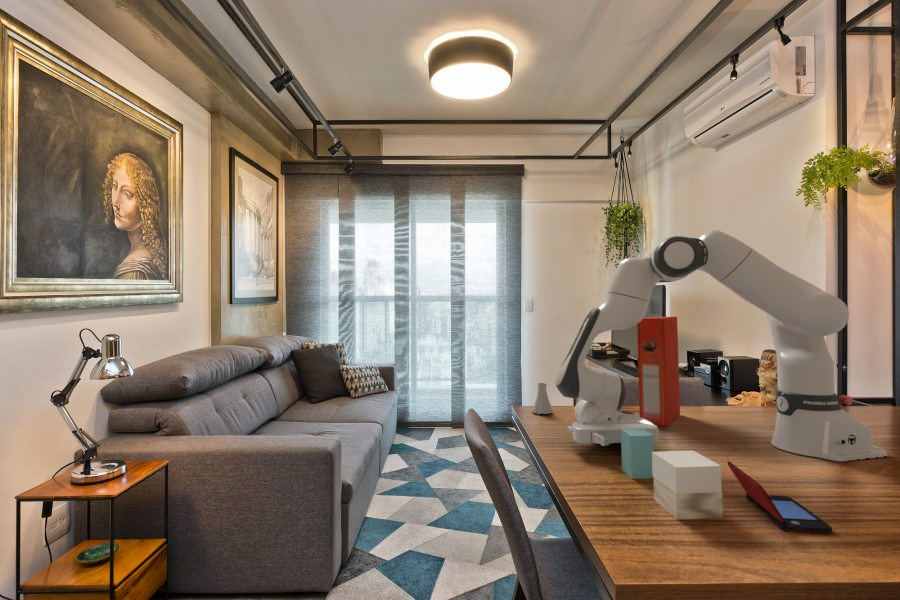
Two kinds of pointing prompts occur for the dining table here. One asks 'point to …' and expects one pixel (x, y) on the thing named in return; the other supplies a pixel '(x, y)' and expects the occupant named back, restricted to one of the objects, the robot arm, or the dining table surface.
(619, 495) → the dining table surface
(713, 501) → the tower base
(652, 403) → the file binder
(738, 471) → the handheld game console
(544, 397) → the flask
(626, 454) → the teal pillar
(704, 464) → the tower top
